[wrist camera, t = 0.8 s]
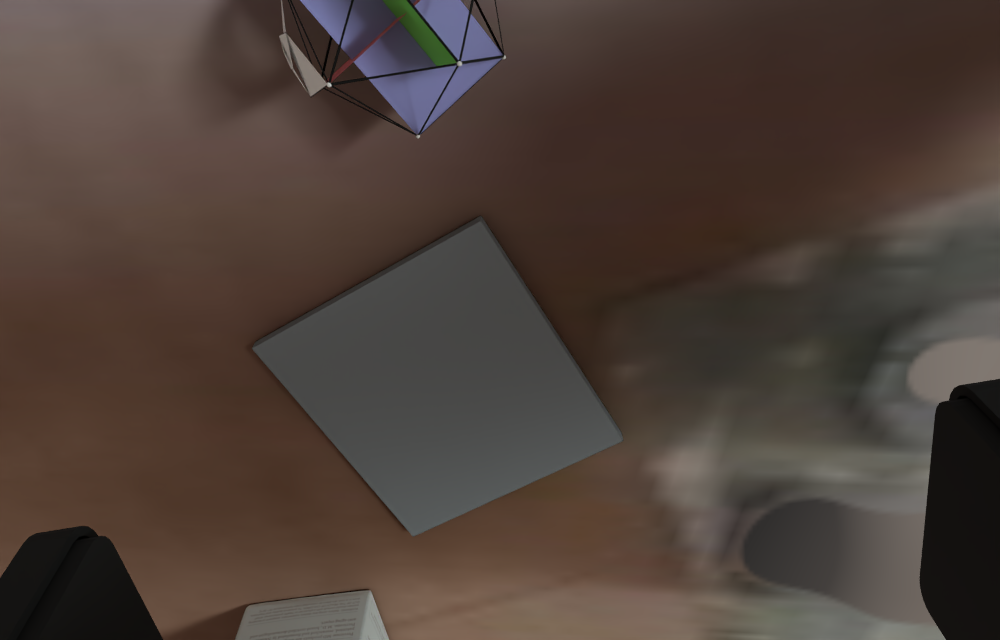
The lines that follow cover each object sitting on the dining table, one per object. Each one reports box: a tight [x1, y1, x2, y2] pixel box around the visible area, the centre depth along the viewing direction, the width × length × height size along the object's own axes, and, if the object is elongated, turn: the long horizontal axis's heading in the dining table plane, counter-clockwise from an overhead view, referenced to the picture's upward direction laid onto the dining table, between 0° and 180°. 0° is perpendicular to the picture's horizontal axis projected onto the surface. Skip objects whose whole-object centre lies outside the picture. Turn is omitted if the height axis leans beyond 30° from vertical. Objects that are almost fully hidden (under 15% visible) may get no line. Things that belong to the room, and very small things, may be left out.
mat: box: [252, 216, 623, 537], centre depth 39 cm, size 12×13×1 cm
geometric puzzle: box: [279, 0, 506, 138], centre depth 28 cm, size 7×7×8 cm
